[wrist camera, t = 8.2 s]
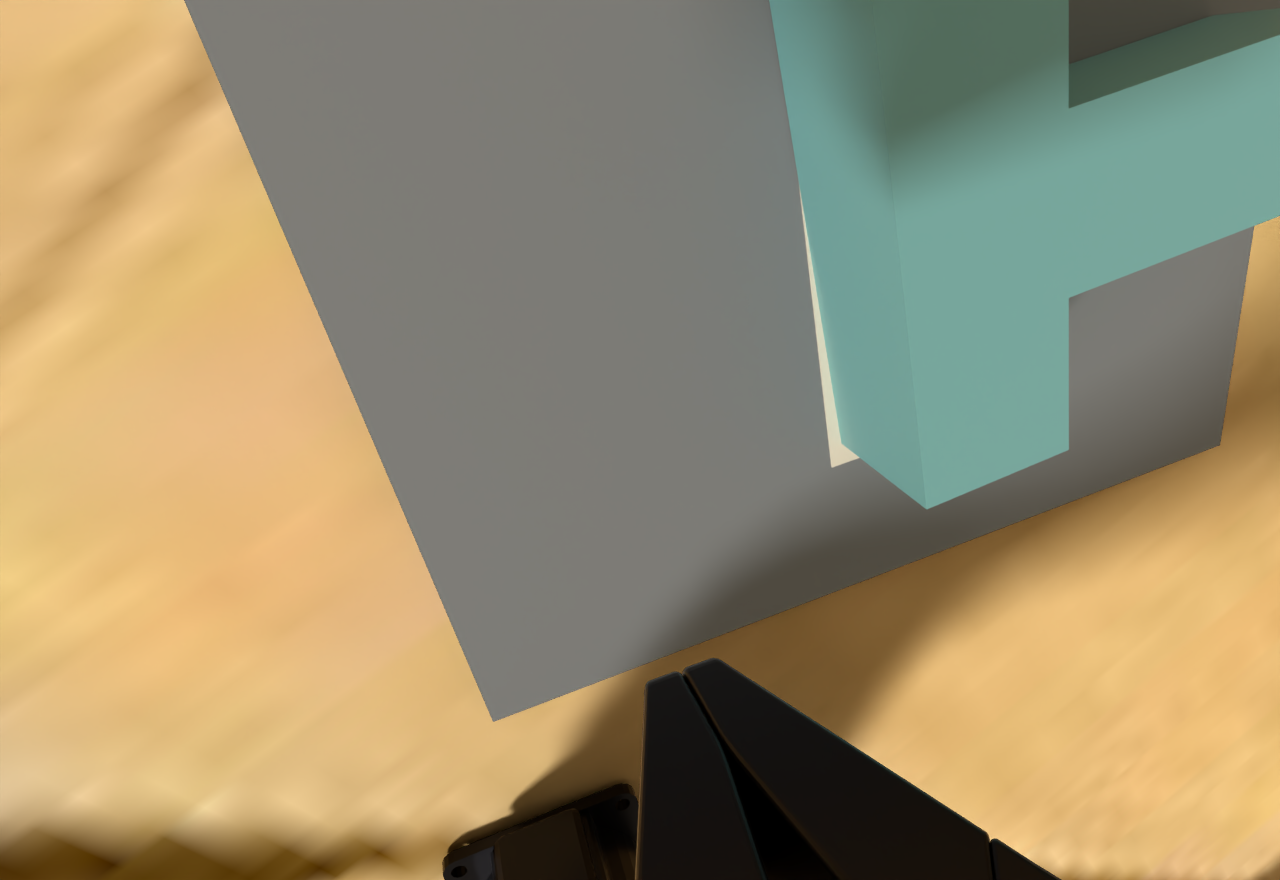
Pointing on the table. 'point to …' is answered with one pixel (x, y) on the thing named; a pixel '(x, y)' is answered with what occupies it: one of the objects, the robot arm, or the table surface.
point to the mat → (639, 316)
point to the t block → (1002, 204)
